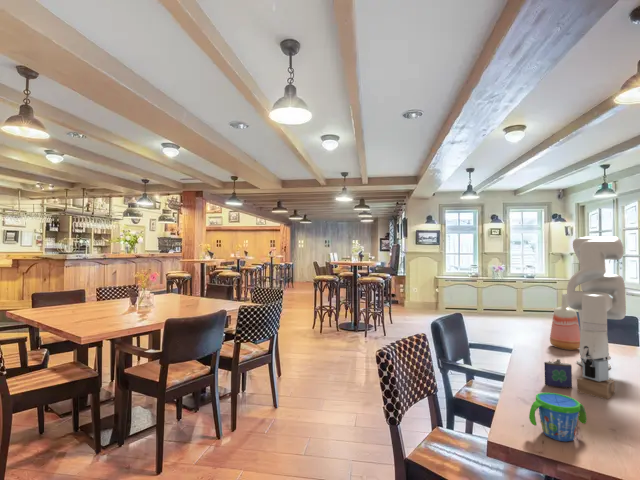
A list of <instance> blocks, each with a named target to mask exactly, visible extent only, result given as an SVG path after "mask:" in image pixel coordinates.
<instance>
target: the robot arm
mask: <svg viewBox="0 0 640 480" xmlns="http://www.w3.org/2000/svg"><path fill="white" fill-rule="evenodd" d="M623 245H624V244H623V242H622V240H621V239H620V237H618V236H583V237H577V238H575V239H573V241H572V249H573V252H574V254H575V256H576V257H577V260H578V263H579V271H577V272H575V273H573V275H572V276H571V277H570V279H569V280H568V282H567V286H566V294H567V304H568V306H569V307H570V308H572V309H574V310H575V311H576V310H577V311H578V318H579V329H580V348H579V356H580V358H578V359H576V364H578V365H580V366H582V367H583V365H582V361H583V362H584V365H585V376H587V377H591V378H595V367H594V361H595V359H604V360H608V361H609V360H611V358H612V357H611V356H610V353H609V340H608V339H609V338H608V320H623V319H624V318H625V317H626V313H627V312H626V311H627V309H626V308H627V307H626V303H627V302H626V287H625V286H626V285H625V280H624V278H623V277H622V276H621V275H619V274H614V273H613V274H612V273H606V270H607V269H606V261H611V260H613V261H618V260H621V259H622V258H623V257H624V246H623ZM579 285H580V288H581V290H576V288H577V287H579ZM589 357H591V358H589ZM588 359H590V360H591V362H590V361H589V360H588ZM611 368H612V365H611V363H608V370H610V369H611Z"/></svg>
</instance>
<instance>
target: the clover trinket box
mask: <svg viewBox="0 0 640 480" xmlns="http://www.w3.org/2000/svg"><path fill="white" fill-rule="evenodd" d="M543 364H544V386H545V387H549V388H557V389H559V388H560V389H573V374H572V373H573V372H572V371H573V369H572V364H571V363H564V362H562V360H561V358H556V361H550V360H549V361H545V362H544V363H543Z"/></svg>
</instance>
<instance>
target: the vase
mask: <svg viewBox="0 0 640 480" xmlns="http://www.w3.org/2000/svg"><path fill="white" fill-rule="evenodd" d="M578 318H579V317H578V314H577V311H576V309H572V308H570V307H569V306H568V304H567V293H562V294H561V305H560V306H558V307H555V308H554V310H553V316H552V320H551V322H552V323H551V327H550V328H551V329H550V334H549V342H550V344H551V345H552V346H553V347H555V348H557V349H561V350H567V351H576V350H580V323H579V319H578Z"/></svg>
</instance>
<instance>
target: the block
mask: <svg viewBox="0 0 640 480" xmlns="http://www.w3.org/2000/svg"><path fill="white" fill-rule="evenodd" d="M615 388H616V385H615V380H614V379H609V380H605V381H600V382H598V381H595V380H592V379H589V378H585V377H583V375H581V376H579V377H578V378H576V391H577V393H580V394H585V395H588V396H592V397H596V398H600V399H603V400H609V399H610V398H612V397H613V396H614V395H615V393H616V392H615V391H616V389H615Z"/></svg>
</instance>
